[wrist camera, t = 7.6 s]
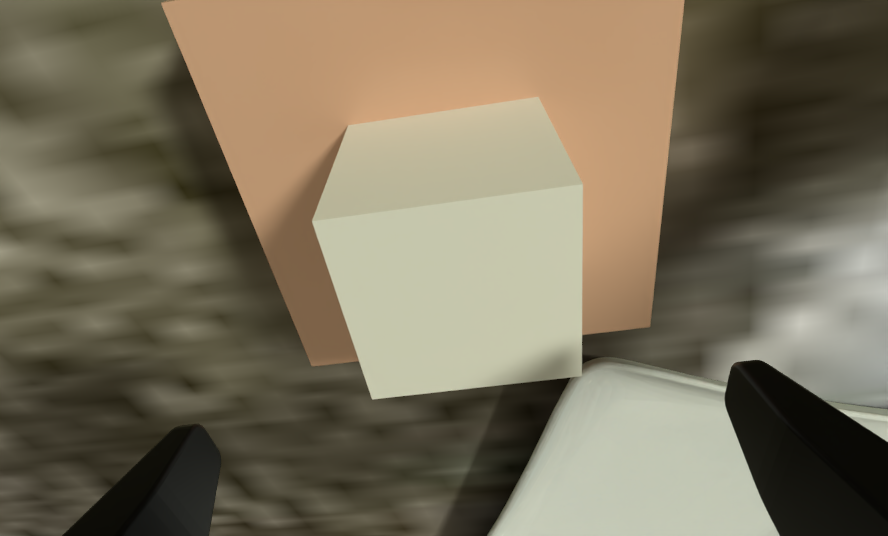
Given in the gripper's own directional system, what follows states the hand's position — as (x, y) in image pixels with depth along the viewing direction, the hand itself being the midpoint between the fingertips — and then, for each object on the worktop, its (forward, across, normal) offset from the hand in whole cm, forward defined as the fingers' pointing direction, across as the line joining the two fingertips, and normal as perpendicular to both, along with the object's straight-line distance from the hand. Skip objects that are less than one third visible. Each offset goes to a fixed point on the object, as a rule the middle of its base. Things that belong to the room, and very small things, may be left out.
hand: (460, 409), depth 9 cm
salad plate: (+12, -10, +22) cm, 27 cm away
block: (+8, 0, 0) cm, 8 cm away
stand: (+12, 0, 0) cm, 12 cm away
